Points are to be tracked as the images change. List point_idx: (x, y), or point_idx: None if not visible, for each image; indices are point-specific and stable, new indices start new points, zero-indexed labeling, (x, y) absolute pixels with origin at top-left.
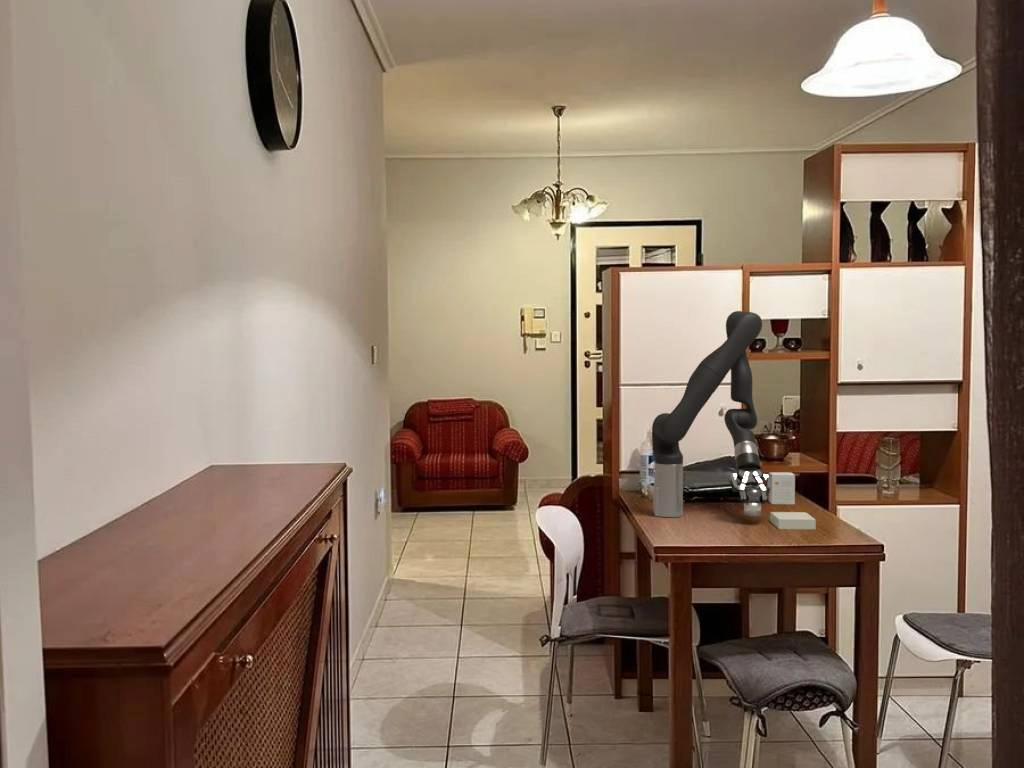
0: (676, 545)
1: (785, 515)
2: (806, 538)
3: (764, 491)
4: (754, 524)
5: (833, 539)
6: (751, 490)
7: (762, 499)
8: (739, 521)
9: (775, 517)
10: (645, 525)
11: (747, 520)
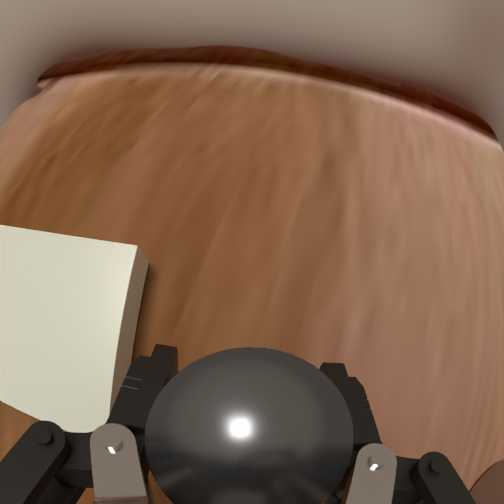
0: (477, 134)
1: (62, 336)
2: (131, 121)
3: (117, 427)
4: None
5: (67, 114)
6: (302, 361)
7: (173, 363)
8: None
9: (122, 327)
10: None
11: None
